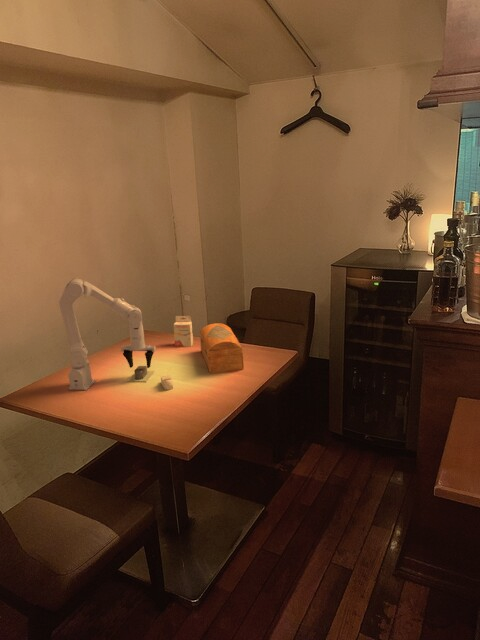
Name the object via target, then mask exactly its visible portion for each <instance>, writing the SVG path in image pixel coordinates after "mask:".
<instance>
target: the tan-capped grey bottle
mask: <svg viewBox="0 0 480 640" xmlns="http://www.w3.org/2000/svg"><path fill="white" fill-rule="evenodd" d="M147 371H148V368H147V365H138V366H137V367H136V368H135V369H134V374H135V379H136V380H141V379H143V378H144V377H145V376H146V375H147Z"/></svg>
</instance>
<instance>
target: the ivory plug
mask: <svg viewBox="0 0 480 640" xmlns="http://www.w3.org/2000/svg"><path fill="white" fill-rule="evenodd" d="M160 382H161V387H162V388H163V389H164V390H165V391H170V390H173V388H174V384H173V378H172V377H171V375H169V374H167V375H162V376H160Z"/></svg>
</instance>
